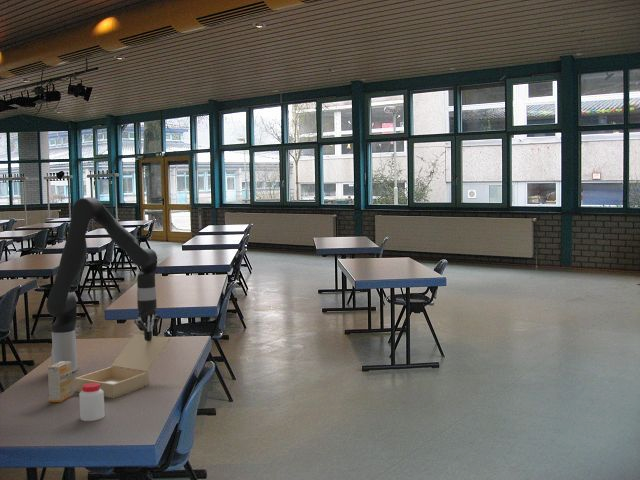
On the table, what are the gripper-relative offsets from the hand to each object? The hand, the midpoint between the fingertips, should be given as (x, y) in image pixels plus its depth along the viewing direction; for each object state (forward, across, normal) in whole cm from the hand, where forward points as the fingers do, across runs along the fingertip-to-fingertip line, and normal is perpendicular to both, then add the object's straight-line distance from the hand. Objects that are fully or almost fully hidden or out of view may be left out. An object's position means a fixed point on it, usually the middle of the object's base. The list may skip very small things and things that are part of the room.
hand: (148, 340), depth 273 cm
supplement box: (+15, +38, -7) cm, 41 cm away
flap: (+4, +4, 0) cm, 6 cm away
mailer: (+14, +20, 0) cm, 25 cm away
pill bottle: (+15, +47, +19) cm, 53 cm away
